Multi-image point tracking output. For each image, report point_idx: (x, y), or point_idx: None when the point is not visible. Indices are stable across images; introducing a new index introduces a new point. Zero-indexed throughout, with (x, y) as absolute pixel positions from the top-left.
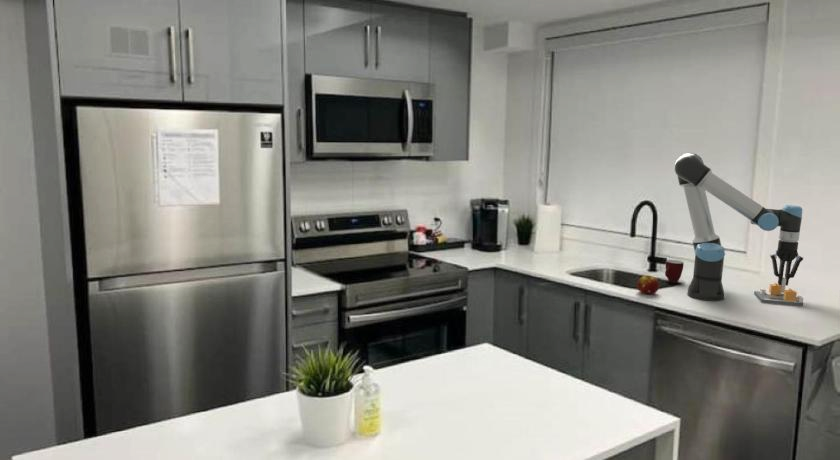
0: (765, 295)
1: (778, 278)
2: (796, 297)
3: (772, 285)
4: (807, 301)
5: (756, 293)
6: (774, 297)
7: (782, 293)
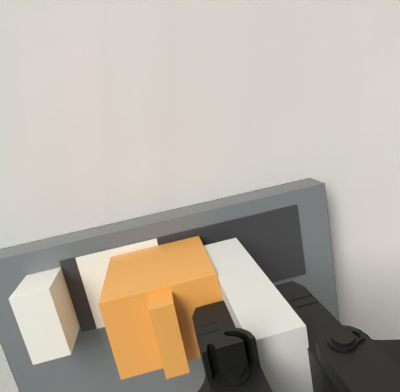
0: (85, 371)
1: (205, 372)
2: (328, 285)
3: (130, 371)
4: (389, 241)
5: (1, 344)
6: (159, 390)
7: (230, 207)
